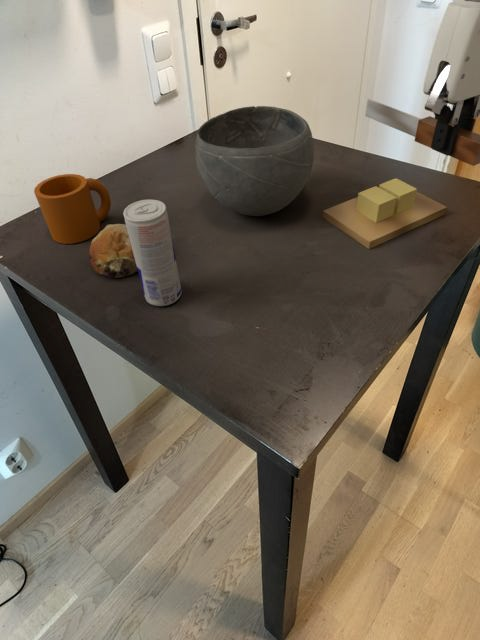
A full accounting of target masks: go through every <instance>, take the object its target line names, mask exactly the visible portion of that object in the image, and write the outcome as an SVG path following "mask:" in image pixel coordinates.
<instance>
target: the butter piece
mask: <svg viewBox="0 0 480 640" xmlns="http://www.w3.org/2000/svg"><path fill="white" fill-rule="evenodd" d="M357 197H358V201H357V208H356V211H358V212H359V213H361V214H362V215H364V216H366V217H367V218H369V219H370V220H372V221H374V222H375V223H377V222H379V221H382V220H384V219H386V218H389V217H391V216H393V214H394V209H395V204H396V199H397V197H395V196H393V195H391V194H389V193H388V192H386V191H384V190H382V189H380V188H379V186H377V185H375V186H373V187H370V188H367V189H365V190H362V191H360V192H358V193H357Z"/></svg>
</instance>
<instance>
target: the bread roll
mask: <svg viewBox="0 0 480 640" xmlns="http://www.w3.org/2000/svg"><path fill="white" fill-rule="evenodd" d="M88 251H89V260H90V265H91V267H92V269H93V270H94V271H95V272H96V273H97V274H99V275H100V276H103V277H108V278H110V279H113V278H115V279H119V278H120V279H121V278H124V277H128V276H132V275H134V274H135V273H138V269H137V265H136V261H135V258H134V254H133V250H132V246H131V242H130V238H129V234H128V231H127V227H126V223H115V224H114V223H113V224H106V226H105V227H104V228H103V229H102V230H101V231H99V232H98V233H97V234H96V235H95V237H93V239H92V240H91V242H90V246H89V249H88Z"/></svg>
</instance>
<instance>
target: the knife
mask: <svg viewBox="0 0 480 640" xmlns="http://www.w3.org/2000/svg"><path fill="white" fill-rule="evenodd" d="M365 117H366V118H369V119H371V120H374V121H375V122H378V123H380V124H383V125H386V126H388V127H389V128H392V129H395V130H397V131H400V132H402V133H405V134H407V135H409V136H412V137H414V142H416V143H418V144H420V145H422V146H426V147H427V148H430V149H432V148H431V144H432V139H433V135H434V131H435V127H436V123H437V121H436V120H435V117H433V116H430V115H429V116H426V117H422V118H421V117H418V116H415V115H413V114H410V113H408V112H405V111H402V110H400V109H396V108H394V107H392V106H389V105H386V104H384V103H381V102H378V101H376V100H373V99H371V98H367V100H366V108H365ZM448 157H451V158H453V159H455V160H458V161H460V162H463V163H465V164H468V165H469V166H471V167H474V166H477V165H479V164H480V134H479V133H478V132H474V131H472V132H471V131H468V130H466V129H463V128H459V131H458V135H457V138H456V142H455V146H454V149H453V153H452V154H451V155H449V156H448Z"/></svg>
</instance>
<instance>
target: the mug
mask: <svg viewBox="0 0 480 640" xmlns="http://www.w3.org/2000/svg"><path fill="white" fill-rule="evenodd" d="M33 189H34V190H33V194H34V196H35V198H36V201H37V203H38V205H39V209H40V211H41V213H42V216H43V218H44V221H45V223H46V226H47V229H48V231H49V234H50V236H51V238H52V239H53V241H55V242H57V243H59V244H64V245H67V244H69V245H71V244H79V243H81V242H84V241H88V240H89V239H91V238H92V237H93V238H94V236H96V235H97V234H98V233H99V232H100V229H101V222H103V221H104V220H105V219H106V218H107V216H109V213H110V210H111V205H112V204H111V203H112V201H111V195H110V193H109V190H108V188H107V187H106V185H105V184H104V183H103V182H102V181H100V180H98V179H96V178H92V177H89V178H86V177H85V176H83V175H80V174H76V173H65V174H58V175H55V176H51V177H49V178H46V179H44V180H42V181H40V182H39V183H38V184H37V185H36V186H35V187H34V188H33ZM91 191H92V192H95V193H97V194H98V196H99V197H100V205H99V207H98V209H97V210H96V206H95V203H94V199H93V196H92V193H91Z"/></svg>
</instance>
